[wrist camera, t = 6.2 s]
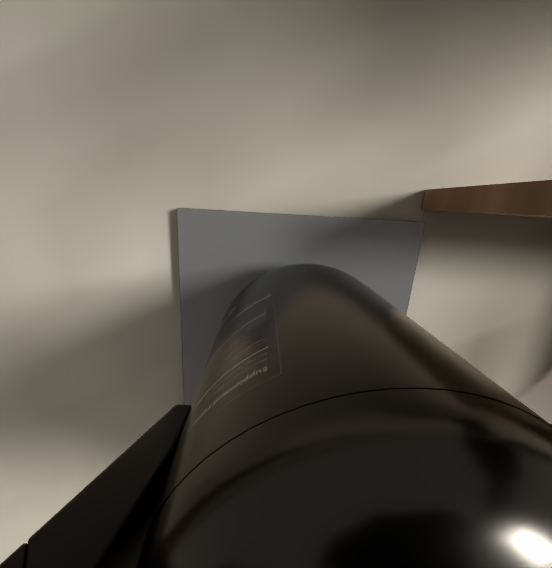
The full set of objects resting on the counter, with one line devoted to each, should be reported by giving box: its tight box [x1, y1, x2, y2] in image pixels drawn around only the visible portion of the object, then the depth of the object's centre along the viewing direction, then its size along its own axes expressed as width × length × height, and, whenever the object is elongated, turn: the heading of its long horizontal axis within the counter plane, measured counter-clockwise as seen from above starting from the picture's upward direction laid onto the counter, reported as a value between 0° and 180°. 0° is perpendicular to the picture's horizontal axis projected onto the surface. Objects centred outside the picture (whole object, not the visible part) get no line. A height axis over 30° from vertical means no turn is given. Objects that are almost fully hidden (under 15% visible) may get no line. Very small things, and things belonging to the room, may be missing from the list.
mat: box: [177, 208, 425, 405], centre depth 13 cm, size 10×10×1 cm
